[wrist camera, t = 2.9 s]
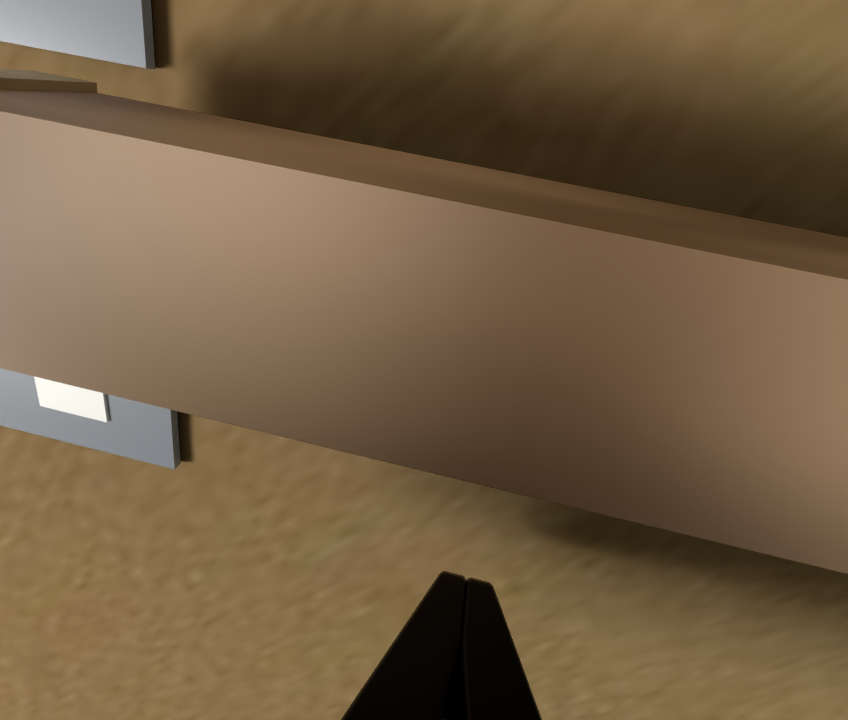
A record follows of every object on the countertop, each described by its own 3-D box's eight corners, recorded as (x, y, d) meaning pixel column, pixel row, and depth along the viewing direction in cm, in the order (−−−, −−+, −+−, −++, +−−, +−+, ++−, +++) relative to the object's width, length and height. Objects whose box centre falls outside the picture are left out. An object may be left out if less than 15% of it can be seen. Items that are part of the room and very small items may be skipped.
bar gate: (1288, 310, 5) (1894, 471, 3) (1097, 506, 6) (1417, 730, 4) (35, 70, 6) (-243, 52, 4) (67, 275, 8) (-135, 349, 5)
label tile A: (180, 463, 11) (172, 471, 10) (-1, 417, 11) (-13, 424, 11) (159, 145, 8) (149, 146, 8) (-82, 96, 8) (-99, 96, 8)
